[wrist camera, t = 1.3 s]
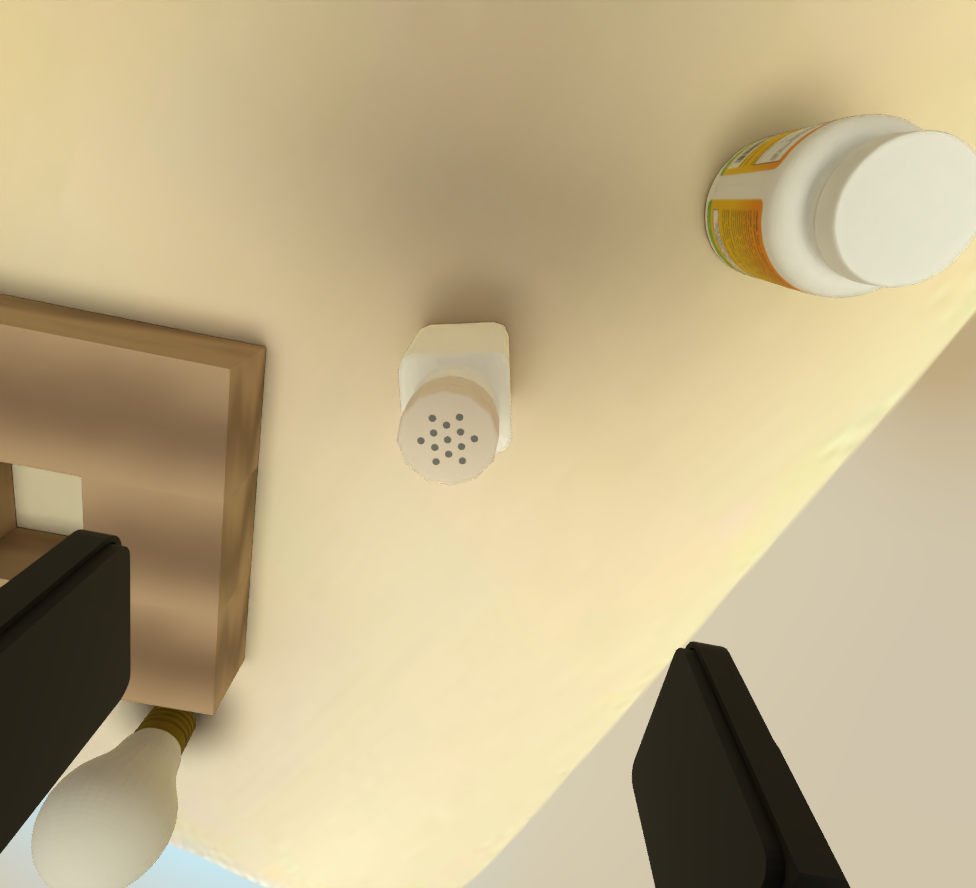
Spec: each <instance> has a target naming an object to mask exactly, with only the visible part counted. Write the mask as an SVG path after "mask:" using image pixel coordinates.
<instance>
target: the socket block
mask: <svg viewBox="0 0 976 888" xmlns="http://www.w3.org/2000/svg"><path fill="white" fill-rule="evenodd" d="M265 358H266V347H263V346H258V345H253V344H248V343H243V342H238V341H233V340H228V339H223V338H218V337H213V336H208V335H203V334H198V333H193V332H188V331H183V330H178V329H173V328H168V327H163V326H158V325H153V324H148V323H143V322H138V321H133V320H128V319H123V318H118V317H113V316H108V315H103V314H98V313H93V312H88V311H83V310H78V309H73V308H68V307H63V306H58V305H53V304H48V303H43V302H38V301H33V300H28V299H23V298H18V297H13V296H8V295H3V294H0V587H2V586H3V585H4V584H6V583H7V582H8V581H10V580H11V579H12V578H14V577H15V576H16V575H17V574H19V573H20V572H21V571H23V570H24V569H25V568H27V567H28V566H29V565H31V564H32V563H33V562H35V561H36V560H37V559H39V558H40V557H41V556H43V555H44V554H45V553H47V552H48V551H49V550H51V549H52V548H53V547H55V546H56V545H57V544H59V543H60V542H61V541H63V540H64V539H65V538H67V537H68V536H63V535H57V534H52V533H46V532H41V531H35V530H30V529H25V528H19V527H17V526H16V515H15V503H14V492H13V480H12V469H11V464H16V465H21V466H27V467H32V468H37V469H43V470H48V471H53V472H59V473H64V474H69V475H75V476H80V477H82V501H83V524H84V530H88V531H94V532H99V533H105V534H110V535H116V536H117V537H119V539H120V541H121V544H122V546H126V547H127V548H128V549H129V551H130V643H131V674H130V681H129V684H128V687H127V690H126V691H125V693H124V695H123V697H122V698H121V700H126V701H132V702H138V703H143V704H149V705H155V706H161V707H167V708H173V709H179V710H185V711H191V712H196V713H202V714H208V715H213V714H214V712H215V711H216V709H217V707H218V705H219V704H220V702H221V700H222V698H223V697H224V695H225V693H226V691H227V689H228V688H229V686H230V684H231V682H232V681H233V679H234V677H235V675H236V674H237V672H238V670H239V668H240V666H241V665H242V663H243V661H244V654H245V640H246V626H247V612H248V598H249V584H250V569H251V555H252V541H253V527H254V513H255V499H256V485H257V471H258V456H259V442H260V428H261V414H262V400H263V386H264V372H265Z"/></svg>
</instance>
